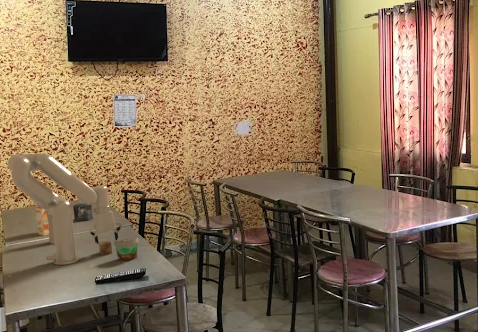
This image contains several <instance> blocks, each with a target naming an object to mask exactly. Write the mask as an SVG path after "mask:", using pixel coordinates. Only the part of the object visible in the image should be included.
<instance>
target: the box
mask: <svg viewBox="0 0 478 332" xmlns="http://www.w3.org/2000/svg"><path fill="white" fill-rule="evenodd" d="M92 205H93V204H91V205H87V204H85V203H76V204H74V205H72V208H73V216H74V217H73V220H74V221H76V222H77V221H82V222H84V221H85V222H88V221H91V220H94V219H93V218H94V215H93V211H92V209H93V208H92Z"/></svg>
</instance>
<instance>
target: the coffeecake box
mask: <svg viewBox="0 0 478 332" xmlns="http://www.w3.org/2000/svg"><path fill="white" fill-rule="evenodd" d="M34 209H35V220H36V230H37V235H38V236H43V237H44V236H49V224H48V218H47V211H46V210H44V209H43V208H42V207H40V206H39V205H37V204H36V203H35V202H34Z"/></svg>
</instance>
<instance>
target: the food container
mask: <svg viewBox="0 0 478 332" xmlns="http://www.w3.org/2000/svg"><path fill="white" fill-rule="evenodd" d="M138 243H139V238H138V237H136V238H134V239H133V238H132V239H129V238H128V239H127V238H126V239H122V240H119V241H118V240H117V241H116V240H115V239H114V241H113V245H114V247H115V251H116V255H117V256H116V257H117V260H118V261H122V262H129V261H133V260H136V259H137V258H138ZM135 258H136V259H135Z"/></svg>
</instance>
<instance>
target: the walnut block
mask: <svg viewBox="0 0 478 332" xmlns="http://www.w3.org/2000/svg"><path fill="white" fill-rule="evenodd" d="M98 242H99V241H98ZM98 246H99V254H100V255H101V256H105V255H112V254H113V249H112V248H113V247H112V241H111V240H107V241H100V242H99V244H98Z"/></svg>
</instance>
